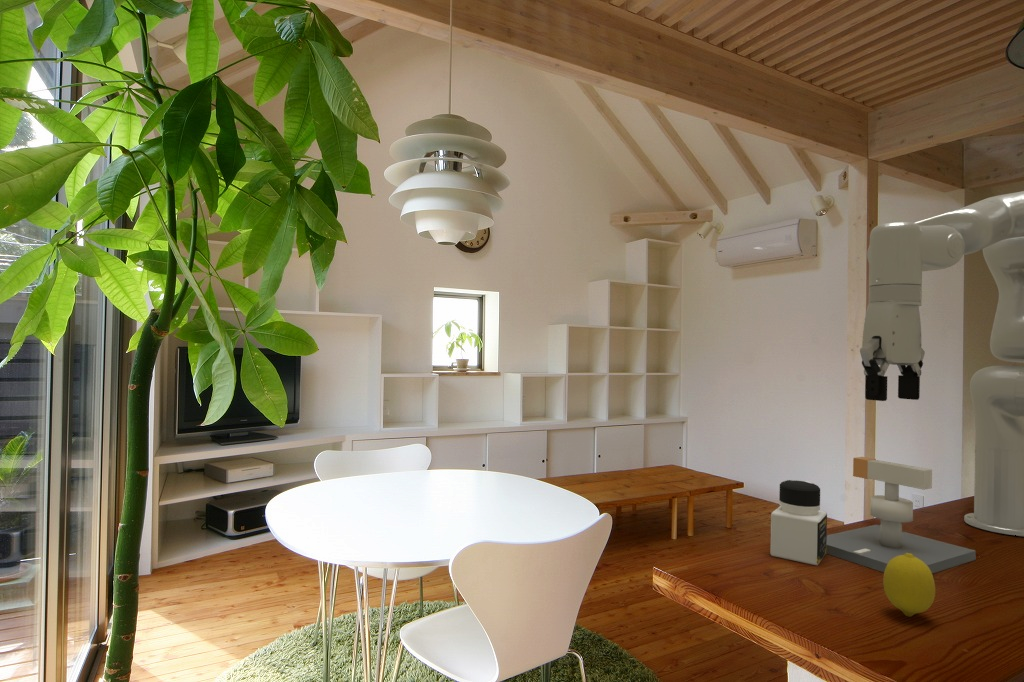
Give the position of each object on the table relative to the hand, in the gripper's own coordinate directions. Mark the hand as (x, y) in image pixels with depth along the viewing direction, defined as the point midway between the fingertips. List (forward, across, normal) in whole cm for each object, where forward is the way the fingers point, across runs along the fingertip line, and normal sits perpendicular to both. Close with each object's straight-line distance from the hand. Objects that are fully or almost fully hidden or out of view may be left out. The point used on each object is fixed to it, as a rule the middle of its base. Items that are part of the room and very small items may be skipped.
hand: (892, 399), depth 100 cm
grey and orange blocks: (+20, 0, 0) cm, 20 cm away
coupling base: (+26, 0, 0) cm, 26 cm away
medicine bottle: (+26, +15, -6) cm, 31 cm away
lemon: (+26, +23, +14) cm, 37 cm away
